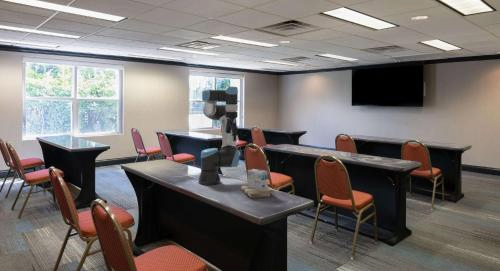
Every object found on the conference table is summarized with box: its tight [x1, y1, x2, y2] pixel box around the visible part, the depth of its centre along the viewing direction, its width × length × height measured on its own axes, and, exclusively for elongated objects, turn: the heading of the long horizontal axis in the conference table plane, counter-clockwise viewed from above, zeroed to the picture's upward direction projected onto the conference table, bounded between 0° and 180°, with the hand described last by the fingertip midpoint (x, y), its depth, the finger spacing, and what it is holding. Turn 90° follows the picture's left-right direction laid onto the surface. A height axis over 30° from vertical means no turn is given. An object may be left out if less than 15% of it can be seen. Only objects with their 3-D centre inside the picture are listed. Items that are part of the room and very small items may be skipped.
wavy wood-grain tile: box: [240, 185, 275, 199], centre depth 204 cm, size 16×16×4 cm
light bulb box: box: [247, 168, 268, 190], centre depth 204 cm, size 11×7×11 cm, turn 55°
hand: (231, 144), depth 214 cm, fingers open, 13 cm apart
